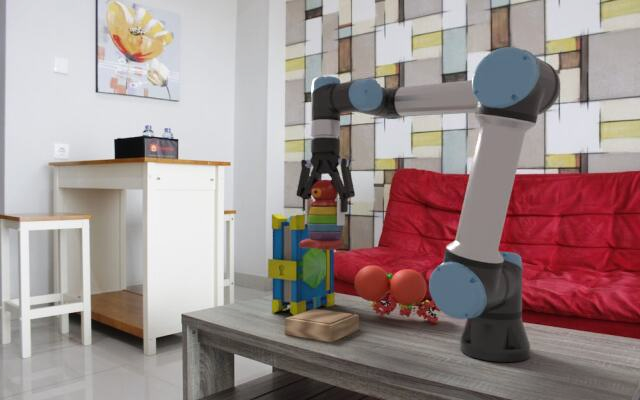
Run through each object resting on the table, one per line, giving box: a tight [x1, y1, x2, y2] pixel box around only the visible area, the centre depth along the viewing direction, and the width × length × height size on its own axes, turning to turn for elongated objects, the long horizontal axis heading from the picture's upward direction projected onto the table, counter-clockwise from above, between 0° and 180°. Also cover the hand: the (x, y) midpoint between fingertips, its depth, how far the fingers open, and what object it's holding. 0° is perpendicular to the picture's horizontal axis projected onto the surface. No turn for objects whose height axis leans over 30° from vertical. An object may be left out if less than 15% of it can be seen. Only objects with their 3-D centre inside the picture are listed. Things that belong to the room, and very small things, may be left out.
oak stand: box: [284, 308, 360, 343], centre depth 133 cm, size 14×14×4 cm
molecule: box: [354, 264, 442, 325], centre depth 146 cm, size 25×11×15 cm, turn 70°
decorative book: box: [267, 212, 336, 316], centre depth 160 cm, size 14×23×30 cm, turn 145°
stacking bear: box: [299, 179, 344, 251], centre depth 134 cm, size 11×10×18 cm
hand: (324, 224), depth 133 cm, fingers closed on stacking bear, 9 cm apart
